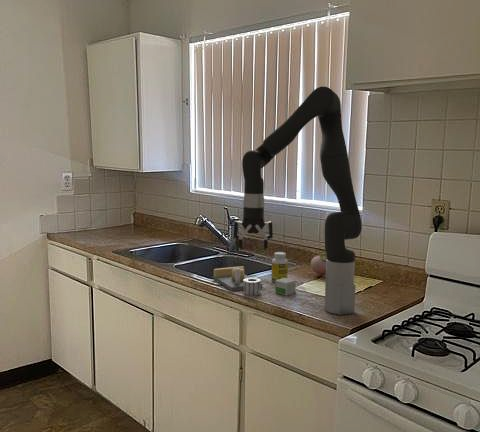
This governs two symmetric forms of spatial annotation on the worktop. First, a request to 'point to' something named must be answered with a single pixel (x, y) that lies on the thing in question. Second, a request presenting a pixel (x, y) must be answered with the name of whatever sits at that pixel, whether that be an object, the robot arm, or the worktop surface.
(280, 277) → the pill bottle
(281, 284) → the small box
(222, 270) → the carrier
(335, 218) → the robot arm
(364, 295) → the worktop surface
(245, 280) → the planet gear
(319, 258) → the decorative fruit
